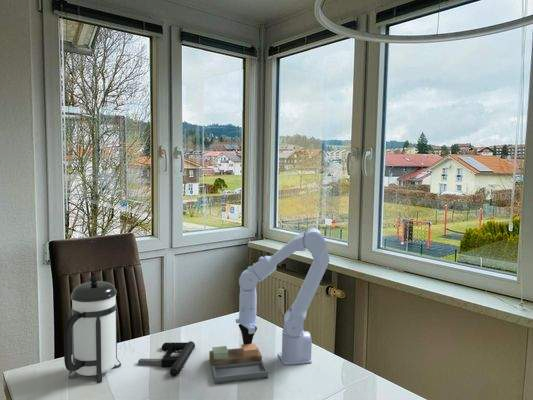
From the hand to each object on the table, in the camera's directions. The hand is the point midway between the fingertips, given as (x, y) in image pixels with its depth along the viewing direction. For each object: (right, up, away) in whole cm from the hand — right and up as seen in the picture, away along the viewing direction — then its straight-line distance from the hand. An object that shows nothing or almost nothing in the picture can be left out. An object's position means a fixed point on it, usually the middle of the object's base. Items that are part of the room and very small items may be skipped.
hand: (247, 346), depth 136 cm
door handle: (-26, -4, -3) cm, 27 cm away
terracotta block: (+1, -1, -3) cm, 4 cm away
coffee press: (-46, -4, -13) cm, 48 cm away
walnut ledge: (-4, -4, -4) cm, 7 cm away
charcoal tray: (-2, -5, -11) cm, 12 cm away
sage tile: (-8, -1, -6) cm, 10 cm away
